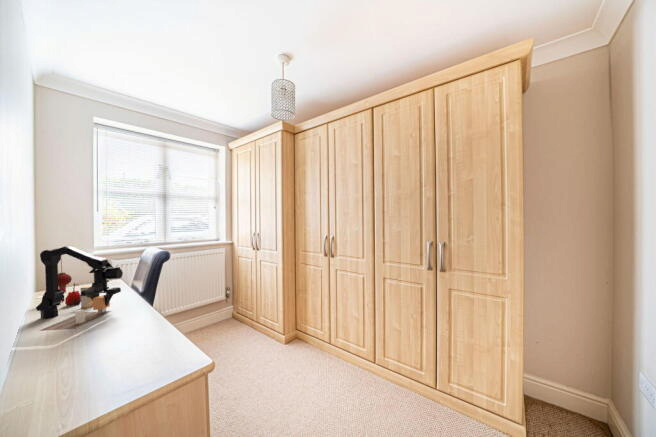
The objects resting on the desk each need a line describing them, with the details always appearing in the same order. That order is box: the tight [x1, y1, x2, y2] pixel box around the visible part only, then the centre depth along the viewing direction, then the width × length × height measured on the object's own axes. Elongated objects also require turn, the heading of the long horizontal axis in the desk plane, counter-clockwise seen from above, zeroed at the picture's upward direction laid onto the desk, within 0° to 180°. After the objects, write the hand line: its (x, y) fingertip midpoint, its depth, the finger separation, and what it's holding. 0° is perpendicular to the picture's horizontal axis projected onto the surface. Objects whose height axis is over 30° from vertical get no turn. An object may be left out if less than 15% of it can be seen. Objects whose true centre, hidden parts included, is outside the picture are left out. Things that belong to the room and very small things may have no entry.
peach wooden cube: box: [92, 295, 111, 311], centre depth 151 cm, size 5×5×7 cm
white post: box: [75, 308, 86, 324], centre depth 137 cm, size 3×3×8 cm
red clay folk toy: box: [64, 282, 81, 307], centre depth 170 cm, size 8×7×15 cm
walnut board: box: [39, 310, 112, 332], centre depth 141 cm, size 17×24×1 cm
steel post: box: [97, 308, 107, 313], centre depth 151 cm, size 3×3×8 cm
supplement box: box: [80, 284, 93, 309], centre depth 167 cm, size 8×5×13 cm, turn 179°
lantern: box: [58, 260, 73, 303], centre depth 177 cm, size 10×10×30 cm
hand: (101, 306), depth 151 cm, fingers closed on peach wooden cube, 5 cm apart
